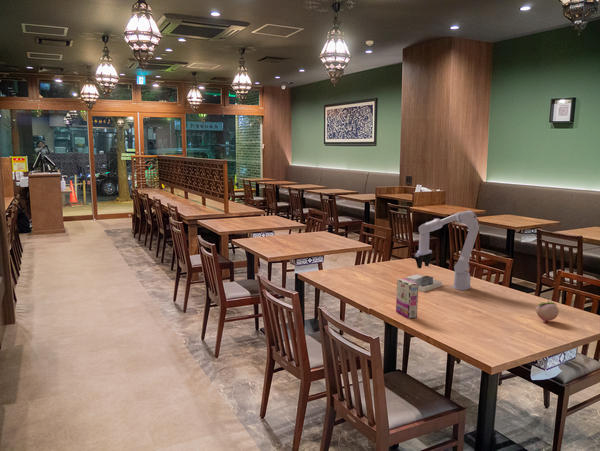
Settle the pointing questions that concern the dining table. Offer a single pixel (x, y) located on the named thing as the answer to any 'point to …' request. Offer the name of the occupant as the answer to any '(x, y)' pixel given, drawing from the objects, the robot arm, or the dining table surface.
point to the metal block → (426, 281)
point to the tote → (430, 286)
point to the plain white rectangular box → (415, 279)
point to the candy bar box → (407, 298)
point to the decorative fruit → (547, 311)
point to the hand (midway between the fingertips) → (423, 267)
